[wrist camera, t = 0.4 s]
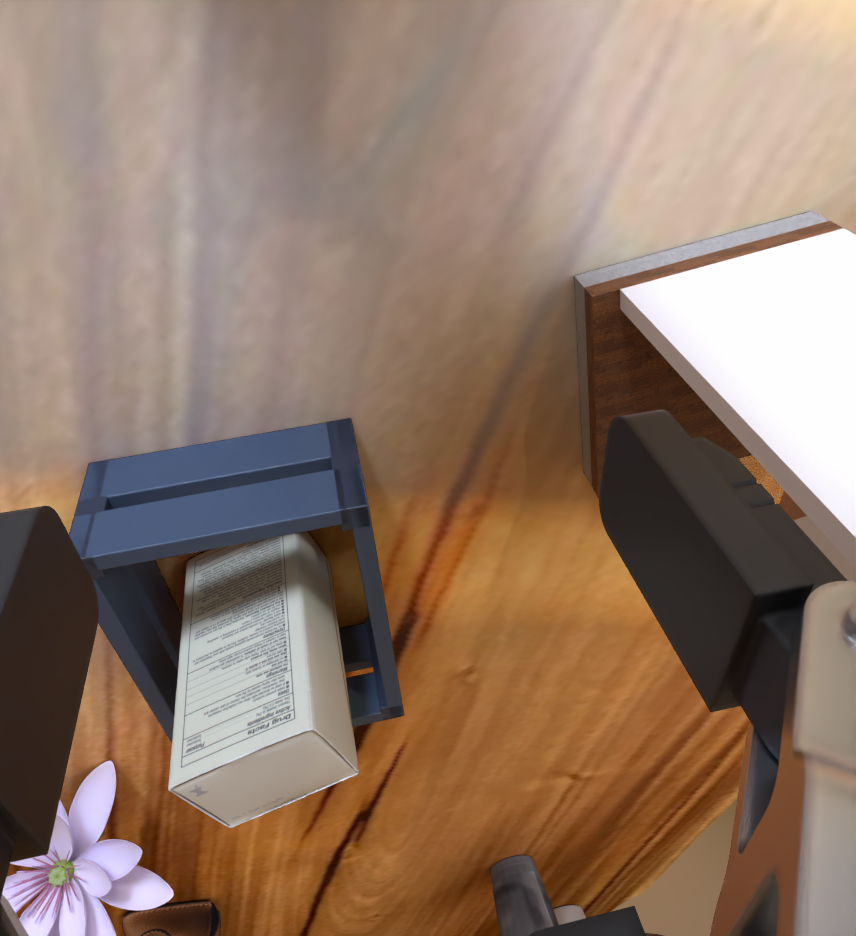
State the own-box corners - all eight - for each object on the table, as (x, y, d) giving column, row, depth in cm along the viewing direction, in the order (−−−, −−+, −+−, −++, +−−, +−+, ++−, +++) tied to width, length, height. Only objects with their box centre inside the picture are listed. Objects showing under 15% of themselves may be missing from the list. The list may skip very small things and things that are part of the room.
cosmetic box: (230, 604, 38) (225, 833, 28) (182, 556, 35) (159, 793, 26) (335, 559, 37) (364, 777, 28) (295, 506, 34) (313, 731, 25)
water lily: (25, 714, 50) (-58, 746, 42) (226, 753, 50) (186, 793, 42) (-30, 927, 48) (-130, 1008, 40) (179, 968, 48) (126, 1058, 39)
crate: (88, 462, 30) (60, 562, 26) (351, 417, 31) (368, 504, 27) (191, 667, 40) (184, 765, 36) (387, 626, 42) (404, 716, 37)
